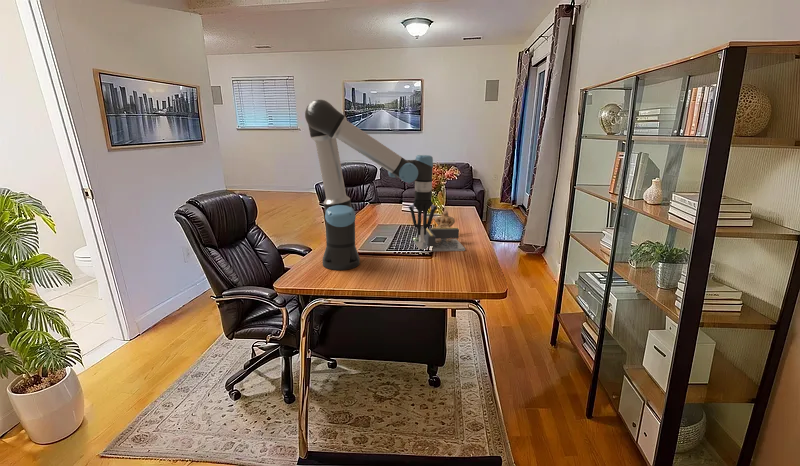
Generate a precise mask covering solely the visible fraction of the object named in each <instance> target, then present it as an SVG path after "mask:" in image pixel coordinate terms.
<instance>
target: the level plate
mask: <svg viewBox="0 0 800 466" xmlns="http://www.w3.org/2000/svg"><path fill="white" fill-rule="evenodd" d="M412 241H414V242H413V244H414V243H415V244H416V246H417V247H418V249H419V250H420V249H425V248H427V246H428V245H427V244H426V242H425V240H424V242H420V241H419V237H417V236H415V237H412ZM415 244H414V245H415ZM416 246H415V247H416ZM417 247H416V248H417ZM418 249H417V250H418ZM432 249H433V251H432V252H466V248H465V246H464V245H463V244H462V243H461V242H460V241H459V240H458V238H447V240H441V239H436V240H435V246H433V248H432Z"/></svg>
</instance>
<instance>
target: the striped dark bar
mask: <svg viewBox="0 0 800 466" xmlns="http://www.w3.org/2000/svg"><path fill="white" fill-rule="evenodd" d="M424 240H425V242H426V244H427V245H428V246H435V240H436V236H435V235H434V234H433V233H432V231H431V230H430V228H429V227H427V228H426V235H424Z"/></svg>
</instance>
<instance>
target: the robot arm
mask: <svg viewBox="0 0 800 466" xmlns="http://www.w3.org/2000/svg"><path fill="white" fill-rule="evenodd" d="M304 118H305V121H306V123H307V126H308V130H309V135H310V136H309V137H310V138H311V140H313V141H314V142H315V147H316V152H317V158H318V163H319V167H320V174H321V179H322V183H323V189H324V194H325V199H324V201H323V208H324V213H325V215H324V220H325V236H326V238H325V240H326V242H325V243H326V245H325V249H324V250H325V251H324V254H323V255H322V256H323V257H322V266H323V267H324V268H325V269H329V270H334V271H344V270H345V271H346V270H350V269H352V270H353V269H354V268H357V267H358V266H359V265H360V264H361V263H360V260H361V259H360V255H359V252H358V250H357V247H356V212H355V209H354V208H353V206H352V201H351V197H349V195H347V193H346V186H345V182H344V176H343V169H342V165H341V158H340V152H339V147H338V141H337V140H339V141H340V142H342V143H344V144H345V145H347V146H348V147H350V148H352V149H353V150H354V151H356V152H358V153H360V154H361V155H362V156H364V157H366V158H367V159H369V160H370V161H372V162H374V163H375V164H376V165H378V166H380V167H381V168H383V169H385V170H386V171H387V173H388V176H389V178H398V179H400V180H401V181H402V182H404V183H408V184H409V183H413V182H414V190H415V191H414V201H413V203H411V205H408V206H407V207H408V209H409V210H410V215H411V220H412V223H413V226H414V228H417V230H416V231H417V235H418V236H419V237H418V238H419V241H420V242H424V235H426V228H429V227H430V228H431V226H432V221H433V218H434V215H435V212H436V210H437V208H438V207H437V206H436V205H434V204H433V202H432V196H433V195H432V193H433V192H432V189H433V169H434V159H433V156H432V155H427V154H417V155H416V156H415V158H414V159H405V158H403V157H402V156H401V155H400V154H398V153H397V152H395V151H393V150H392V149H390V148H389V147H387V146H386V145H385V144H384V143H382V142H380V141H378V140H377V139H376V138H373V137H372V136H371V135H369V134H367V132H365V131H364V130H362V129H360V128H359V127H357V126H356V125H354V124H353V123H352V122H351V121H348V120H347V117H346V115H344V114H342V113H341V112H340V111H339V110H337V108H336V107H334V106H333V104H331V103H330V102H328V101H327V100H324V99H315V100H312V101H311V102H310V103H309V104H308V105H307V106H306V108H305V112H304ZM415 209H416V210H417V218H416V214H415V211H414V210H415ZM429 210H430V211H429ZM428 211H429V216H428ZM422 213H423V215H422ZM422 217H423V219H422Z"/></svg>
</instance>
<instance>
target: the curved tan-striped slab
mask: <svg viewBox="0 0 800 466" xmlns="http://www.w3.org/2000/svg"><path fill="white" fill-rule="evenodd" d="M429 229H430V230H431V231H432V233H433V234H434V235H435V236H436V239H441V240H447V239H459V235H460V229H459V228H458V227H450V228H435V227H430V228H429Z"/></svg>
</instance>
